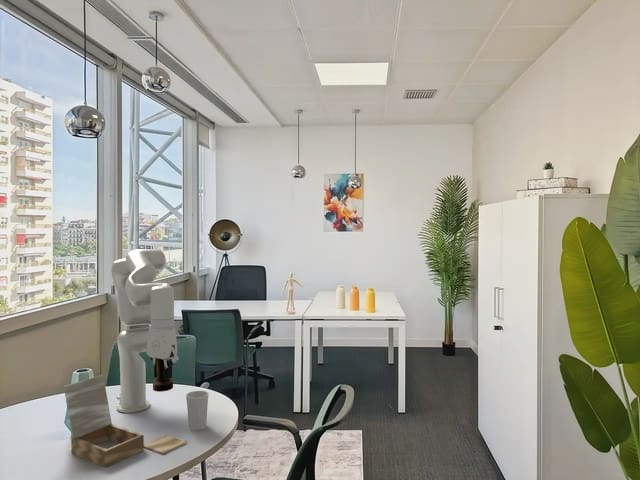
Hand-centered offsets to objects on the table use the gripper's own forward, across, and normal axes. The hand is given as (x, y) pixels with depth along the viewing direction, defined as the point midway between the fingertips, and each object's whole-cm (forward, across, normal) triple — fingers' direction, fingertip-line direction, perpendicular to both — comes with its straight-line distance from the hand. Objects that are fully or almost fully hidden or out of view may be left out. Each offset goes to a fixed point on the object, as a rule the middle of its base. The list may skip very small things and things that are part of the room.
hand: (163, 377), depth 171 cm
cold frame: (+23, -14, -13) cm, 30 cm away
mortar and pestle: (+4, 0, 0) cm, 4 cm away
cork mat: (+23, 0, 0) cm, 23 cm away
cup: (+23, -2, +17) cm, 29 cm away
